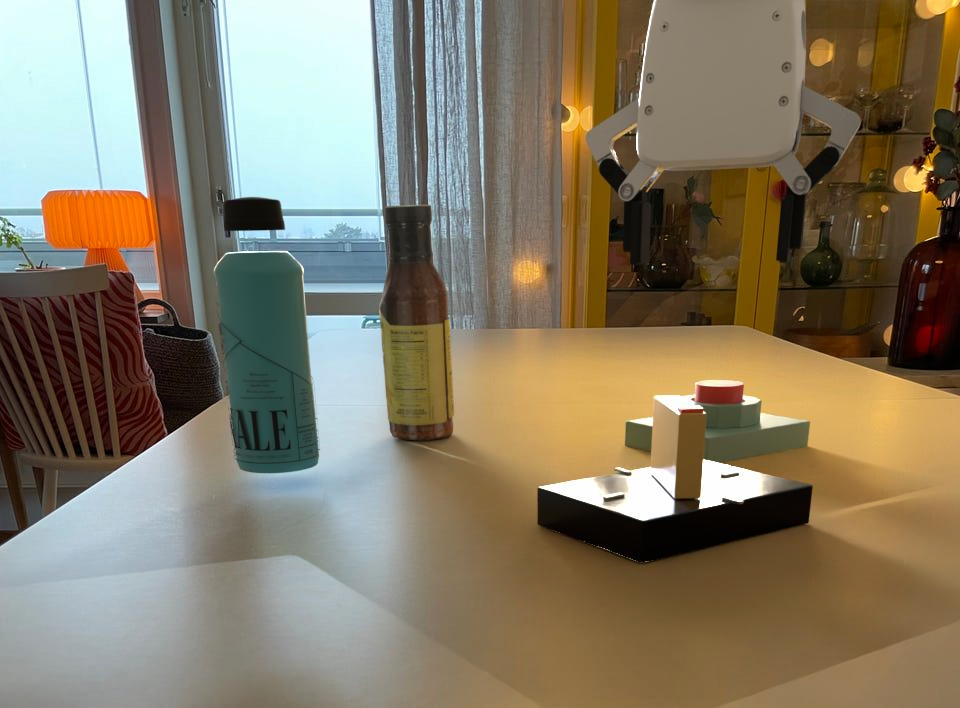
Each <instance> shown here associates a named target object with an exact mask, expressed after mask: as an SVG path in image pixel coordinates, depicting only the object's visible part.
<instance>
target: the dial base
mask: <svg viewBox="0 0 960 708" xmlns="http://www.w3.org/2000/svg"><path fill="white" fill-rule="evenodd" d="M650 469H651V466H649V467H644V468H643V467H642V468H637V469H632V470H629V469H625V468H621V467H614V469H613V471H614V472H615V473H609V474H604V475H600V476H599V475H598V476H593V477H587V478H581V479H576V480H570V481H564V482H559V483H555V484H554V483H553V484H548V485H543V486H538V487H537V490H536V491H537V495H536V496H537V498H536V499H537V502H536V503H537V507H536V508H537V509H536V510H537V513H536V514H537V515H536V516H537V518H536V519H537V520H536V521H537V526H539V525H540V527H542V526H543V527H542V528H544V527H546V528H545V529H547V528H548V529H547V530H550V529H551V530H550V531H552V530H554V531H553V532H555V531H557V532H556V533H558V532H560V533H559V534H561V533H562V534H561V535H563V534H565V535H564V536H566V535H567V537H569V536H570V537H569V538H571V537H573V538H572V539H574V538H575V539H574V540H577V539H578V540H577V541H579V540H581V541H580V542H582V541H585V542H586V543H585V542H584V543H585V544H587V543H589V544H588V545H590V544H593V545H595V546H599V547H602V548H605V549H608V550H610V551H612V552H615V553H618V554H620V555H623V556H625V557H628V558H631V559H633V560H636V561H638V562H645V561H650V562H652V561H651V560H655V561H658V560H657V559H659V560H662V559H661V558H663V559H667V558H671V557H675V556H679V555H683V554H687V553H692V552H695V551H699V550H704V549H707V548H713V547H717V546H721V545H725V544H729V543H734V542H737V541H741V540H746V539H749V538H754V537H757V536H762V535H765V534H770V533H774V532H775V533H776V532H779V531H783V530H786V529H791V528H796V527H798V526H803V525H807V524H809V523H810V516H811V505H812V498H813V496H812V495H813V487H814V485H813V484H810V483H805V482H802V481H797V480H793V479H789V478H785V477H780V476H776V475H771V474H767V473H763V472H759V471H754V470H749V469H745V468H741V467H737V466H731V465H729V464H724V463H721V462H719V463H715V462H711V461H707V460H703V475H702V489H701V498H689V499H675V498H674V497H673V496H672V495H671V494H670V493H669V492H668V491H667V490H666V489H665V488H664V487H663V486H662V485H661V483H660V482H659V481H658V480H657V479H656V478H655V477H654V476H653V475H652V474H651V473H650ZM593 545H592V546H593ZM595 546H594V547H595ZM625 557H624V558H625ZM633 560H632V561H633ZM638 562H637V563H638Z"/></svg>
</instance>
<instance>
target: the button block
mask: <svg viewBox="0 0 960 708" xmlns="http://www.w3.org/2000/svg"><path fill="white" fill-rule="evenodd" d="M680 397H681V398H683V399H685V400H686V401H688V402H689V403H691V404H692V405H694V406H700V407H702V408H704V412H705V413H706V414H707V417H706V431H705V446H704V460H707V461H711V462H715V463H724V462H729V461H735V460H740V459H745V458H751V457H756V456H763V455H767V454H773V453H774V454H775V453H779V452H785V451H789V450H794V449H800V448H806V447H808V445H809V436H810V428H811V420H807V419H799V418H794V417H787V416H781V415H777V414H770V413H765V412H761V411H762V399H760V398H758V397H756V396H752V395H751V396H750V395H744V394H743V402H741V403H734V404H709V403H699V402H694V399H695V394H688V395H682V396H680ZM624 423H625V424H624V425H625V426H624V446H625V447H629V448H634V449H637V450H642V451H646V452H650V453H651V448H652V428H653V416H651V417H643V418H637V419H636V418H635V419H630V420H625V422H624Z"/></svg>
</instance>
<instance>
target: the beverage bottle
mask: <svg viewBox="0 0 960 708" xmlns="http://www.w3.org/2000/svg"><path fill="white" fill-rule="evenodd" d="M223 201H224V202H223V218H224V219H223V231H224V232H254V231H255V232H257V231H260V232H261V231H262V232H263V231H286V224H285V220H284V215H283V209H282V203H281V201H280V200H279V199H275V198H270V197H263V196H245V197H237V198H231V199H225V200H223ZM220 258H221V259H220V260H219V261H218V262H217V263H216V265H215V267H214V269H213V275H214V277H215V284H216V291H217V301H218V302H216V305H217V307H218V312H219V313H218V312H216V314H217V316H218V319H219V321H220V323H219V324H218V330H219V332H218V333H220V348H221V354H222V355H223V356H224V359H223V361H222V362H223V364H222V367H223V368H224V364H225V368H224V372H225V373H226V381H225V382H224V383H225V384H226V386H225V389H226V391H225V392H226V396H227V398H228V400H229V406H230V407H229V406H227V409H228V410H229V411H230V414H228V417H229V425H230V430H231V431H230V433H231V436H232V440H231V441H232V442H231V443H232V444H233V447H234V448H233V450H232V452H233V453H234V455H233V457H234V460H236V463H237V465H238V468H239V469H240V470H241V471H243V472H246V473H247V472H248V473H253V474H283V473H284V474H285V473H292V472H293V473H294V472H299V471H304V470H309V469H311V468H314V467H315V466H317V465H318V464H319V458H320V451H321V448H319V446H320V440H319V436H318V435H320V434H319V433H320V432H319V431H318V426H317V424H319V423H318V417H317V415H316V413H318V412H317V411H318V410H317V409H316V404H315V402H316V401H317V400H316V398H315V393H314V391H315V390H316V389H315V387H314V382H315V380H314V378H313V376H312V368H311V356H310V345H309V344H310V343H309V333H308V319H307V309H306V308H307V307H306V295H305V294H306V293H305V283H304V273H305V272H304V270H305V269H304V266H303V265H302V264H301V263H300V261H298V259H296V258H295V256H294V255H292V254H291V253H290V252H289V251H287V250H272V251H271V250H269V251H268V250H267V251H264V250H263V251H235V252H234V251H233V252H226V253H224V255H223V256H222V257H220Z"/></svg>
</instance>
